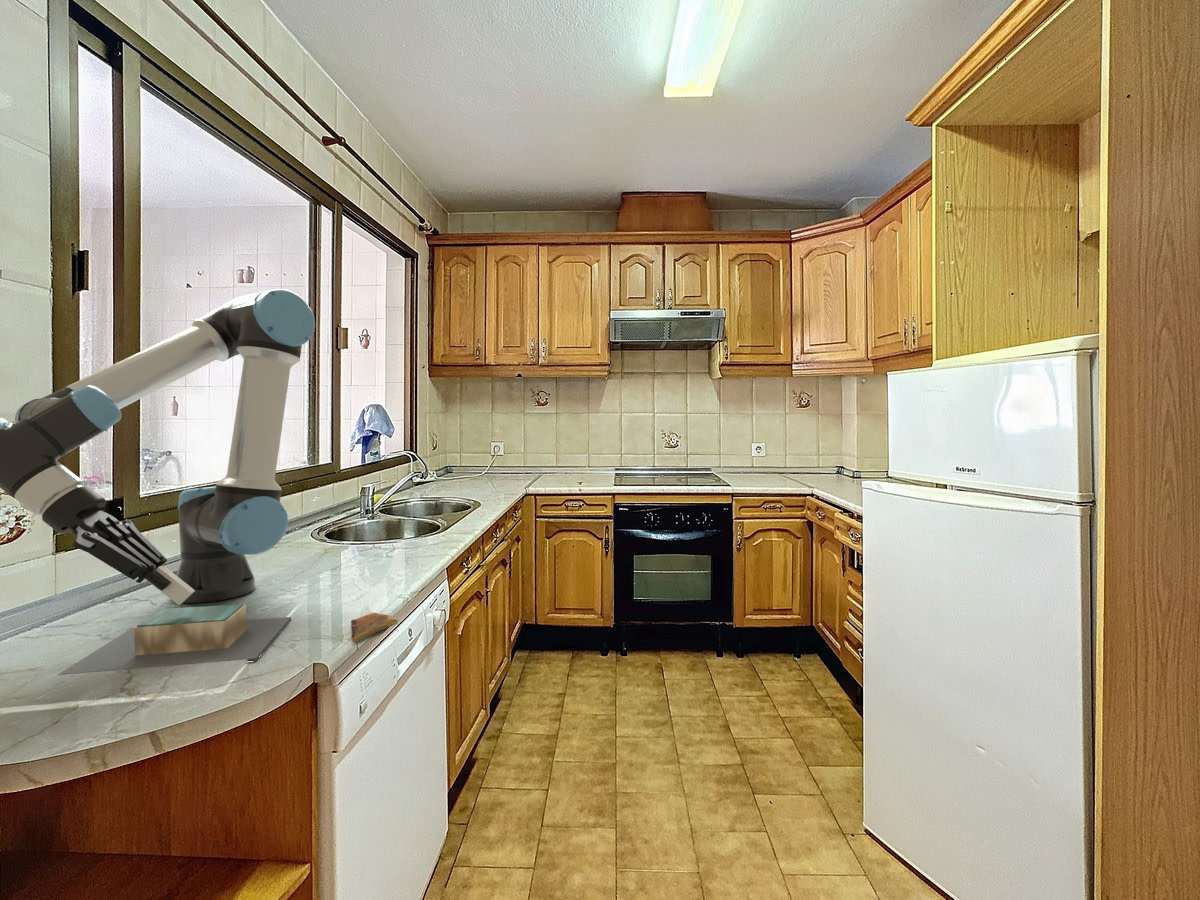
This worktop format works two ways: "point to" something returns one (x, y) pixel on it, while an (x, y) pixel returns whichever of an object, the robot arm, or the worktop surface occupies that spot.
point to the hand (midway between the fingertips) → (187, 597)
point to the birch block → (190, 629)
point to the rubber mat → (123, 652)
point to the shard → (370, 625)
